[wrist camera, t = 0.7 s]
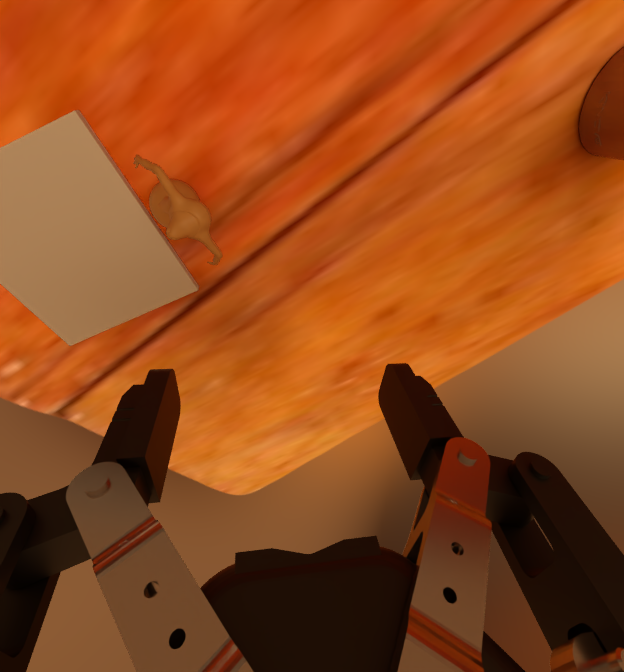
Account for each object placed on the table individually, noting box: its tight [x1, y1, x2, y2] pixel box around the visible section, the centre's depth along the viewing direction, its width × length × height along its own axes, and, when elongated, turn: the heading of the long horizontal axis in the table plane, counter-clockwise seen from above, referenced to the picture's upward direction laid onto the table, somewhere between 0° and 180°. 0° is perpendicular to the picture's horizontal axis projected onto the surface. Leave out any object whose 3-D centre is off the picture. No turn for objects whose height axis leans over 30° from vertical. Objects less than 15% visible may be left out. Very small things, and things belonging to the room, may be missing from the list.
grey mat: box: [0, 110, 199, 346], centre depth 29 cm, size 15×16×1 cm
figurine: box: [134, 155, 222, 265], centre depth 24 cm, size 8×6×12 cm
